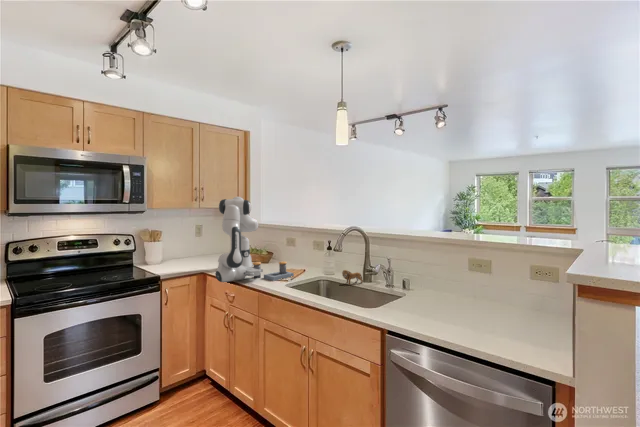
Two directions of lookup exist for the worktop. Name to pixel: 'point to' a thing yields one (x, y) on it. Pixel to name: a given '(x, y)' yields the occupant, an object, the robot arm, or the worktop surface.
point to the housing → (277, 276)
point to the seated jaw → (282, 267)
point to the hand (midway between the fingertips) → (258, 269)
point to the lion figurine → (351, 276)
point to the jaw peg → (257, 266)
